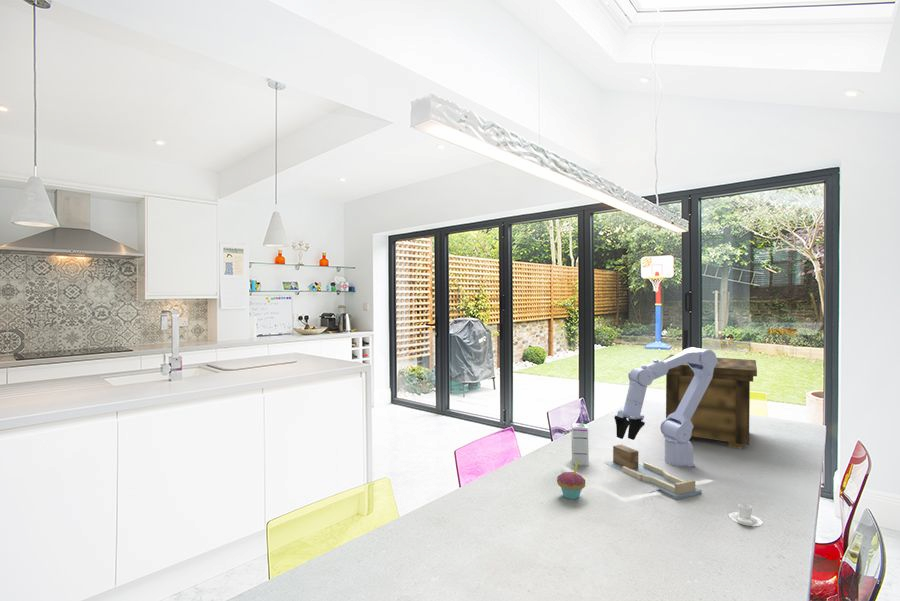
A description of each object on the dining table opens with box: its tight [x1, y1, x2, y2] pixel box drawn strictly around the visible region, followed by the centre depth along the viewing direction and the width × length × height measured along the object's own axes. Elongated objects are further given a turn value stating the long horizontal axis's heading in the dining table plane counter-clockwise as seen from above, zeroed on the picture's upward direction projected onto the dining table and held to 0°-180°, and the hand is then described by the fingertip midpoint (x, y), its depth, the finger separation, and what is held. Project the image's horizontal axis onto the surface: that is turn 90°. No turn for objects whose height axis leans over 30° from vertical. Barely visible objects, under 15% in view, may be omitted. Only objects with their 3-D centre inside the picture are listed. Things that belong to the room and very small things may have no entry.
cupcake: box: [556, 459, 586, 500], centre depth 144 cm, size 9×8×12 cm
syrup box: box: [571, 422, 590, 467], centre depth 170 cm, size 6×6×14 cm
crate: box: [662, 354, 758, 449], centre depth 206 cm, size 35×35×33 cm
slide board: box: [604, 460, 702, 501], centre depth 158 cm, size 11×31×4 cm, turn 24°
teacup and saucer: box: [728, 503, 763, 527], centre depth 129 cm, size 9×8×4 cm
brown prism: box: [612, 444, 639, 469], centre depth 167 cm, size 4×8×6 cm, turn 24°
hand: (625, 438), depth 166 cm, fingers open, 7 cm apart
